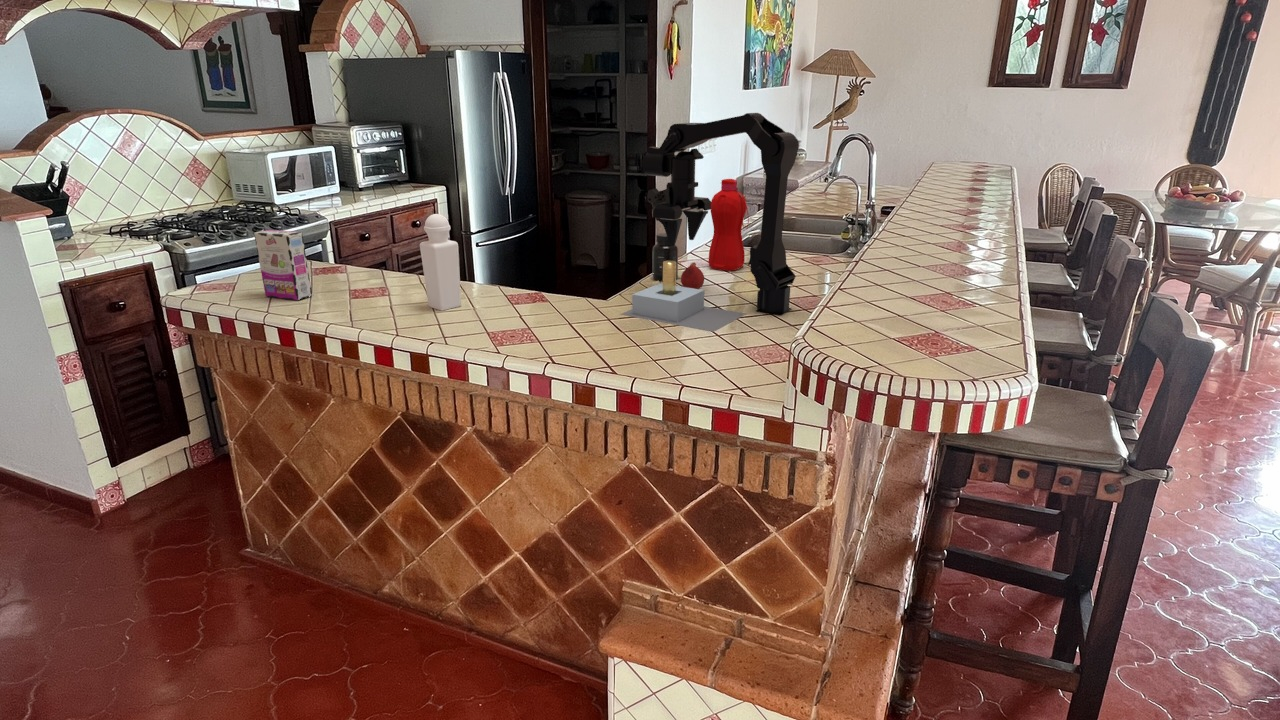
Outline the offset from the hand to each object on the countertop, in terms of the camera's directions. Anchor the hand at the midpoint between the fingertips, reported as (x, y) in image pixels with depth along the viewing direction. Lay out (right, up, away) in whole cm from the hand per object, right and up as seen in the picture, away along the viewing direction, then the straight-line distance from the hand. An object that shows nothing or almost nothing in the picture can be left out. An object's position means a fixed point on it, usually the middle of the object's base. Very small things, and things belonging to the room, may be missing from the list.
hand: (681, 243), depth 182 cm
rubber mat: (0, -19, -13) cm, 23 cm away
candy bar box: (-99, -13, +4) cm, 100 cm away
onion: (+3, -12, +5) cm, 13 cm away
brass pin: (-4, -16, -12) cm, 20 cm away
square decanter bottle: (-57, -16, -5) cm, 59 cm away
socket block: (-4, -18, -11) cm, 21 cm away
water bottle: (+15, -3, +31) cm, 35 cm away
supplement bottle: (-4, -7, +20) cm, 21 cm away
